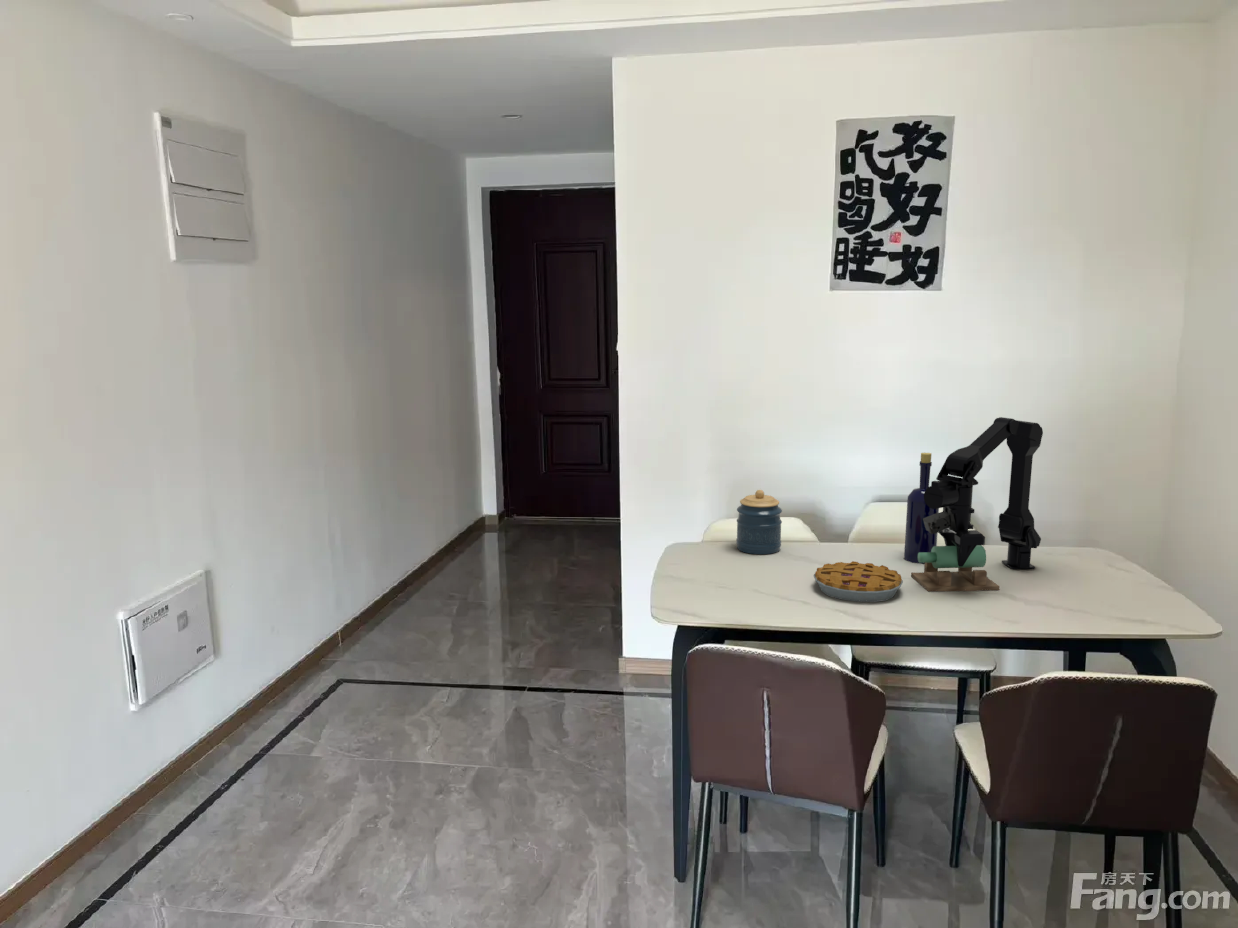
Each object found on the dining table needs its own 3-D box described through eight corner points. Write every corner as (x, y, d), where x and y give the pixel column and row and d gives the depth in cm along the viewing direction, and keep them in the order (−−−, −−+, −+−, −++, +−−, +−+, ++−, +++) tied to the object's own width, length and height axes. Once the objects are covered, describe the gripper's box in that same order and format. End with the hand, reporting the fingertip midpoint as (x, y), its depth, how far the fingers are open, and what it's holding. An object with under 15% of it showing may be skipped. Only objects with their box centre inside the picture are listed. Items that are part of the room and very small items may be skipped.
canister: (787, 546, 261) (789, 488, 258) (770, 557, 250) (772, 496, 247) (747, 540, 268) (748, 483, 265) (728, 550, 257) (729, 491, 254)
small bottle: (975, 563, 230) (977, 542, 228) (985, 570, 224) (987, 549, 223) (914, 564, 229) (916, 543, 228) (922, 571, 224) (924, 550, 222)
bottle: (942, 563, 243) (949, 456, 238) (908, 563, 244) (914, 456, 238) (931, 554, 252) (937, 450, 247) (898, 554, 253) (904, 450, 247)
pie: (900, 579, 231) (901, 561, 230) (904, 608, 210) (905, 588, 209) (815, 573, 237) (815, 555, 236) (810, 600, 216) (811, 581, 215)
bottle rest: (928, 591, 221) (929, 574, 220) (911, 576, 233) (912, 559, 232) (999, 589, 222) (1000, 572, 221) (978, 574, 234) (979, 558, 233)
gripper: (914, 495, 232) (911, 552, 235) (942, 513, 214) (938, 575, 217) (956, 494, 233) (952, 551, 236) (988, 512, 214) (983, 573, 217)
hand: (955, 562), depth 226 cm, fingers closed on small bottle, 6 cm apart
